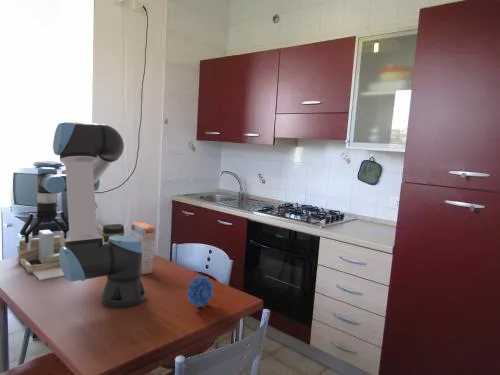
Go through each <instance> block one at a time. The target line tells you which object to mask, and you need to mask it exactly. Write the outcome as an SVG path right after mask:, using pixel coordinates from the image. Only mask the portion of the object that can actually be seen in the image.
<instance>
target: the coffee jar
mask: <svg viewBox="0 0 500 375" xmlns="http://www.w3.org/2000/svg"><path fill="white" fill-rule="evenodd" d="M101 234H102V238H103V242H108V239H109V237H110V236H115V235H121V236H125V227H124V225H123V224H121V223H110V224H103V226H102V231H101Z"/></svg>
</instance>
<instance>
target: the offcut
mask: <svg viewBox="0 0 500 375" xmlns="http://www.w3.org/2000/svg"><path fill="white" fill-rule="evenodd" d="M57 261H60V260H59V253H58V254H53V255H48V256H46V260H45V262H48V263H51V262H57Z"/></svg>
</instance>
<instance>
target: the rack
mask: <svg viewBox="0 0 500 375" xmlns="http://www.w3.org/2000/svg"><path fill="white" fill-rule="evenodd" d="M65 240H66V239H64V246H65ZM61 247H63V246H61V235H54V254H58V253H59V250H60V248H61ZM18 255H19V256H18V257H19V258H18V259H19V263H20V264H21V265H22V266H23V268H24V269H25V270H26V271H27V272H28V273H29V274H33V272H34V271H40V270H46V269H52V268H58V267H61V265H60V261H57V262H51V263H44V264H42V263H40V264H39V263H38V264H31V263H30V262H31V261H32V262H33V261H39V237H37V238H36V237H35V238H31V251H29V250H28V249H27V243H25V238H24V239H19V254H18Z"/></svg>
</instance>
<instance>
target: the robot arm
mask: <svg viewBox="0 0 500 375" xmlns="http://www.w3.org/2000/svg"><path fill="white" fill-rule="evenodd" d="M124 144H125V143H124V140H123V137H122V135H121V134H120V133H119V131H118V130H116V129H115V128H113V127H112V126H110V125H107V124H102V123H91V122H84V121H83V122H82V121H76V120H73V121H72V120H71V121H69V120H63V121H60V122H59V123H58V124H57V126H56V129H55V131H54V135H53V143H52V150H53V154H54V155H57V156H59V160H60V162H61V163H62V164H63V165H64V166H65V174H58V169H57V168H56V167H48V166H47V167H46V166H43V167H39V168H38V169H37V174H36V176H37V186H36V187H37V193H36V194H37V195H36V197H37V203H36V213H32V212H28V217H27V219H26V221H25V222H24V224H23V226H22V228H21V230H20V231H19V234H20V235H21V236H24V239H25V243H27V249H28V250H29V251H31V239H32V236H31V234H32V232H34V230H36V229H37V227H38V226H39V225H40V224H41V223H45V224H46V223H52V222H54V223H55V225H57V227H58V228H59V229H60V230H61V231H60V236H61V246H63V247H61V248H60V250H59V260H60V265H61V269H62V271H63V274H64V276H63V277H65V279H66V280H68V281H70V282H77V281H86V280H90V279H94V278H95V279H96V278H100V277H107V278H106V282H105V285H104V287H103V290H102V292H101V295H100V296H101V297H100V298H101V300H100V301H101V303H102V304H103V305H104V306H107V307H109V308H115V309H123V308H131V307H134V306H137V305H140V304H142V302H144V301H145V298H146V290H145V286H144V284H143V281H142V275H141V265H142V253H143V251H142V242H141V241H140V240H139V239H137V238H134V237H131V235H130V236H128V235H123V236H121V235H115V236H110V237H109V239H108V242H104V239H103V235H102V236H101V235H100V234H99V233H98V225H97V209H96V197H95V195H96V194H95V192H96V191H99V188H100V184H101V183H100V178H101V177H102V176H103V174H104V173H105V172H106V170H107V169H108V168H109V167H110V165H111V164H112V163H115V162H117V161H118V160H119V159H120V157H122V155H123V153H124V148H125V145H124ZM60 193H66V196H67V199H66V200H67V202H66V203H67V214H68V215H67V217H68V221H67V219H66V217H65V212H64V211H62V210H59V211H57V194H60ZM57 216H58V217H59V218H60V219H61V221H62V223H63V225H62V223H60V222H59V221H58V220H57V219H56V218H57ZM35 217H36V218H37V219H36V220H35V221H34V222H33V223H32V221H33V219H35ZM31 223H32V224H31ZM29 226H30V227H29ZM64 226H65V227H64ZM68 232H69V235H68V237H67V233H68ZM64 239H65V245H64Z"/></svg>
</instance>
